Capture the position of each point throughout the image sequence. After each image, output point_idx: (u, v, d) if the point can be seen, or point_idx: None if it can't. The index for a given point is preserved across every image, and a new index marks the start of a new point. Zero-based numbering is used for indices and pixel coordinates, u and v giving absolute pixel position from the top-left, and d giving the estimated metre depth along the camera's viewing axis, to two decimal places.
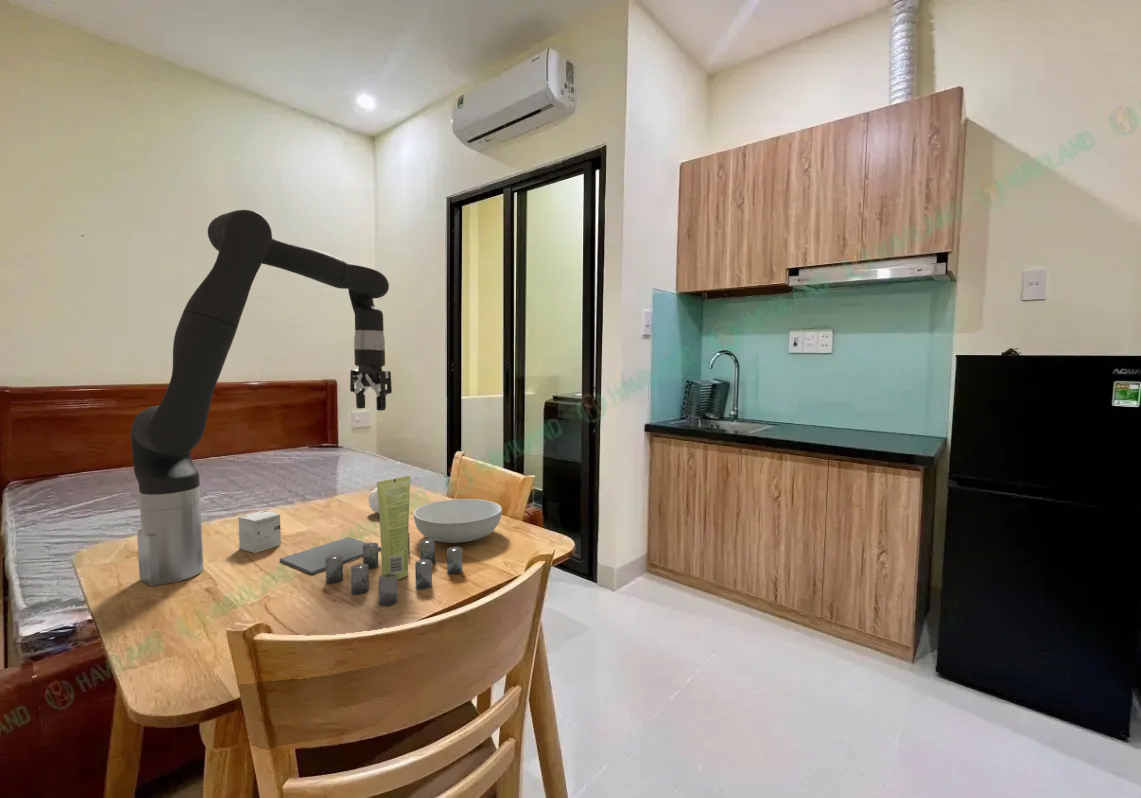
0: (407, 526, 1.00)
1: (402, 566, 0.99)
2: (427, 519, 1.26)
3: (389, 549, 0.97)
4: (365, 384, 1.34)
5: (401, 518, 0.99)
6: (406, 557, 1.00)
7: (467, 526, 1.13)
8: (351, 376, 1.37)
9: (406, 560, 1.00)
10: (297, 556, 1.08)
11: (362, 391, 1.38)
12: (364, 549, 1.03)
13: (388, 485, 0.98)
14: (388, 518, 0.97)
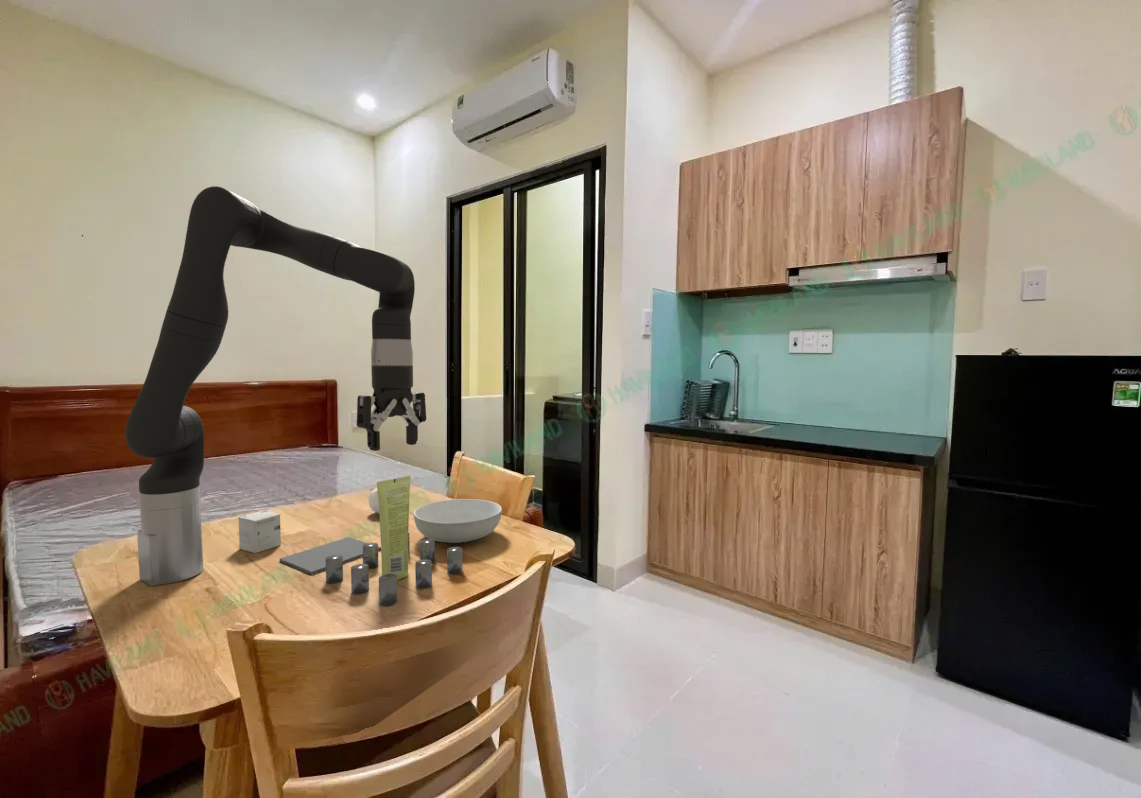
0: (407, 526, 1.00)
1: (402, 566, 0.99)
2: (427, 519, 1.26)
3: (389, 549, 0.97)
4: (394, 413, 0.97)
5: (401, 518, 0.99)
6: (406, 557, 1.00)
7: (467, 526, 1.13)
8: (367, 405, 0.92)
9: (406, 560, 1.00)
10: (297, 556, 1.08)
11: None
12: (364, 549, 1.03)
13: (388, 485, 0.98)
14: (388, 518, 0.97)
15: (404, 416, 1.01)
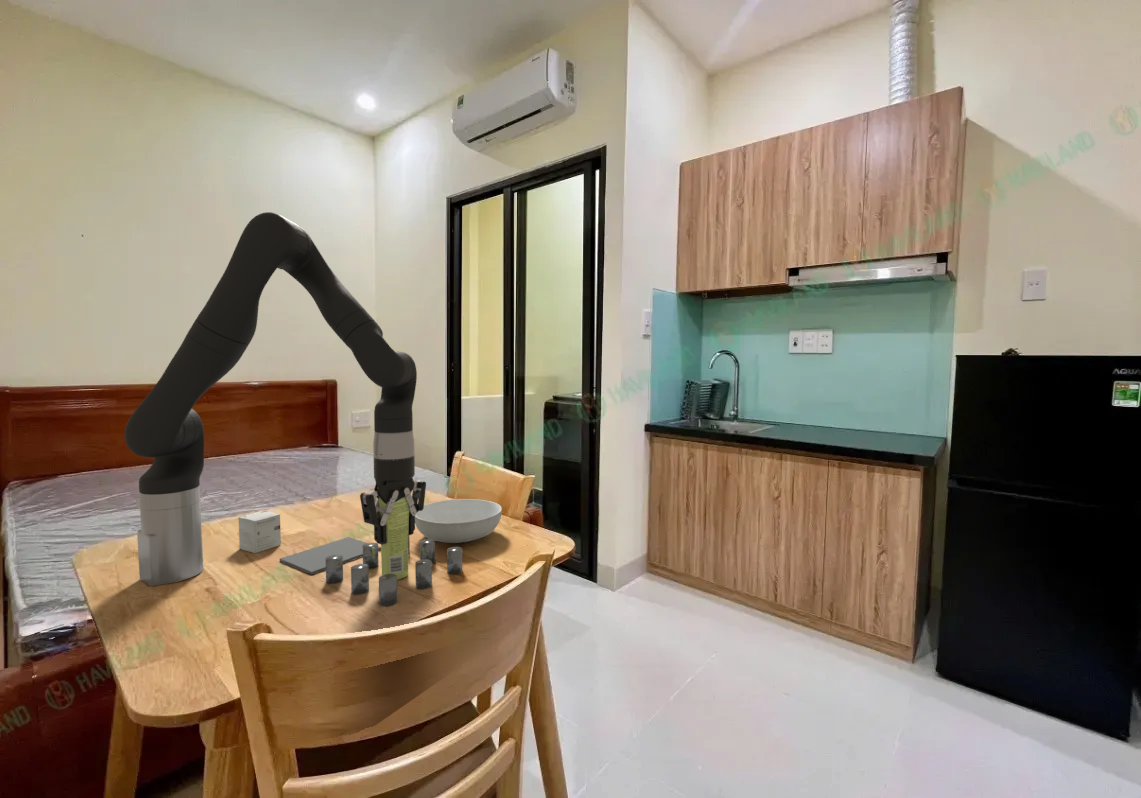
0: (407, 526, 1.00)
1: (402, 566, 0.99)
2: (427, 519, 1.26)
3: (389, 549, 0.97)
4: None
5: (401, 518, 0.99)
6: (406, 557, 1.00)
7: (467, 526, 1.13)
8: (371, 504, 0.93)
9: (406, 560, 1.00)
10: (297, 556, 1.08)
11: None
12: (364, 549, 1.03)
13: None
14: (388, 518, 0.97)
15: None
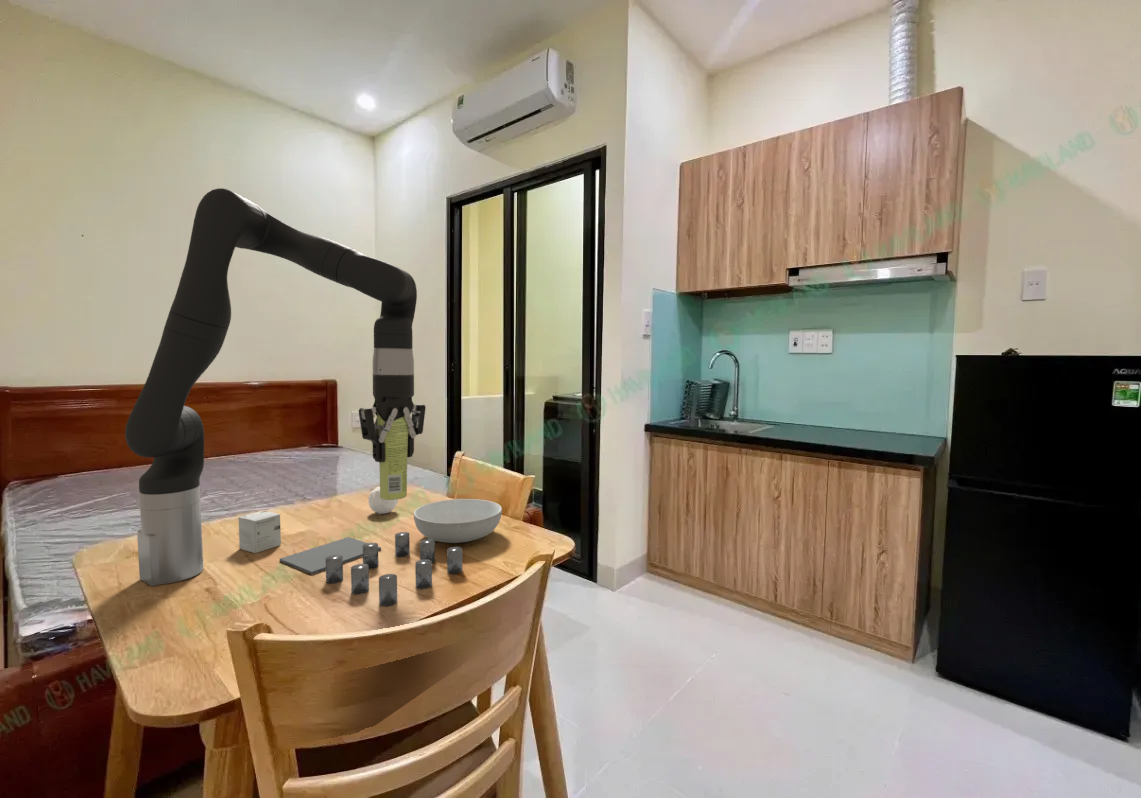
0: (406, 447, 0.99)
1: (400, 486, 0.97)
2: (427, 519, 1.26)
3: (388, 468, 0.96)
4: None
5: (400, 438, 0.98)
6: (405, 478, 0.99)
7: (467, 526, 1.13)
8: (370, 418, 0.92)
9: (405, 481, 0.99)
10: (297, 556, 1.08)
11: None
12: (364, 549, 1.03)
13: None
14: (387, 436, 0.96)
15: None
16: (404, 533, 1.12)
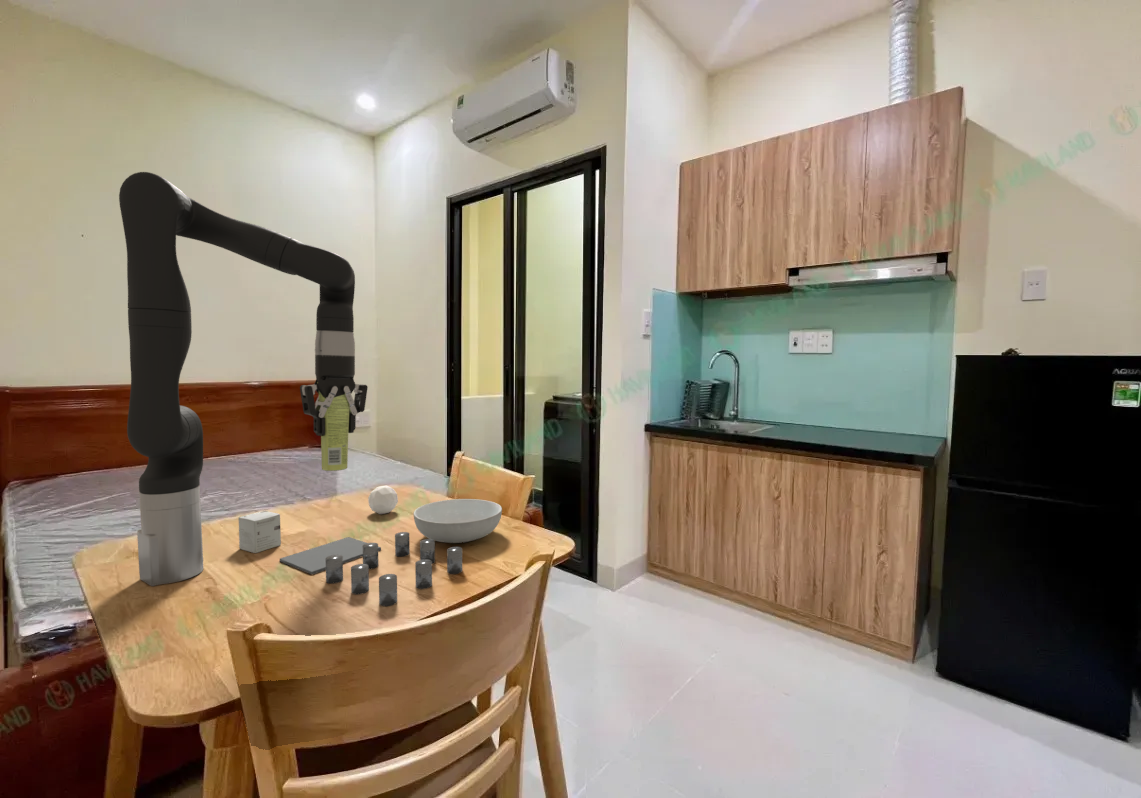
0: (347, 423, 1.07)
1: (340, 459, 1.06)
2: (427, 519, 1.26)
3: (328, 442, 1.04)
4: None
5: (341, 414, 1.06)
6: (345, 451, 1.07)
7: (467, 526, 1.13)
8: (309, 394, 1.00)
9: (345, 454, 1.07)
10: (297, 556, 1.08)
11: None
12: (364, 549, 1.03)
13: None
14: (327, 412, 1.04)
15: None
16: (404, 533, 1.12)
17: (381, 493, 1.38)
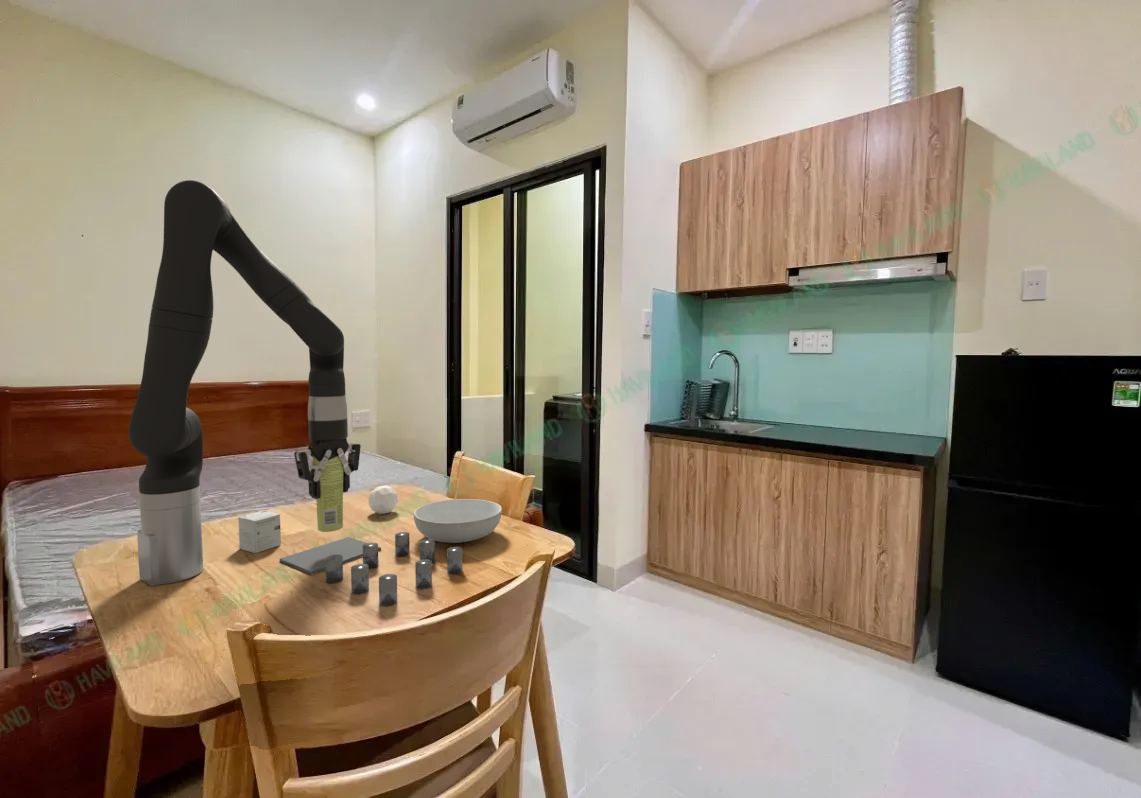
0: (341, 483, 1.10)
1: (335, 519, 1.08)
2: (427, 519, 1.26)
3: (323, 504, 1.07)
4: None
5: (335, 476, 1.08)
6: (340, 511, 1.09)
7: (467, 526, 1.13)
8: (304, 460, 1.03)
9: (340, 514, 1.09)
10: (297, 556, 1.08)
11: None
12: (364, 549, 1.03)
13: None
14: (322, 475, 1.06)
15: None
16: (404, 533, 1.12)
17: (381, 493, 1.38)
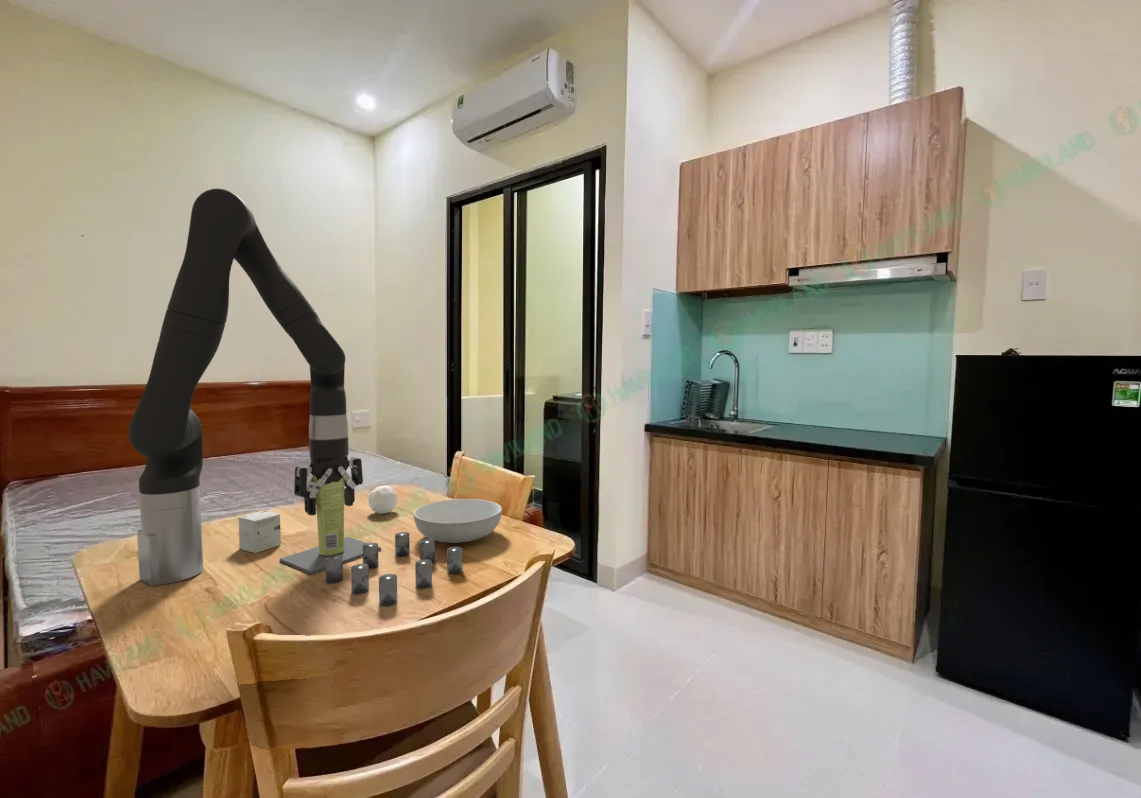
0: (342, 507, 1.10)
1: (337, 543, 1.09)
2: (427, 519, 1.26)
3: (324, 528, 1.08)
4: (330, 480, 1.08)
5: (336, 499, 1.09)
6: (341, 535, 1.10)
7: (467, 526, 1.13)
8: (303, 476, 1.03)
9: (341, 537, 1.10)
10: (297, 556, 1.08)
11: None
12: (364, 549, 1.03)
13: None
14: (323, 499, 1.07)
15: None
16: (404, 533, 1.12)
17: (381, 493, 1.38)
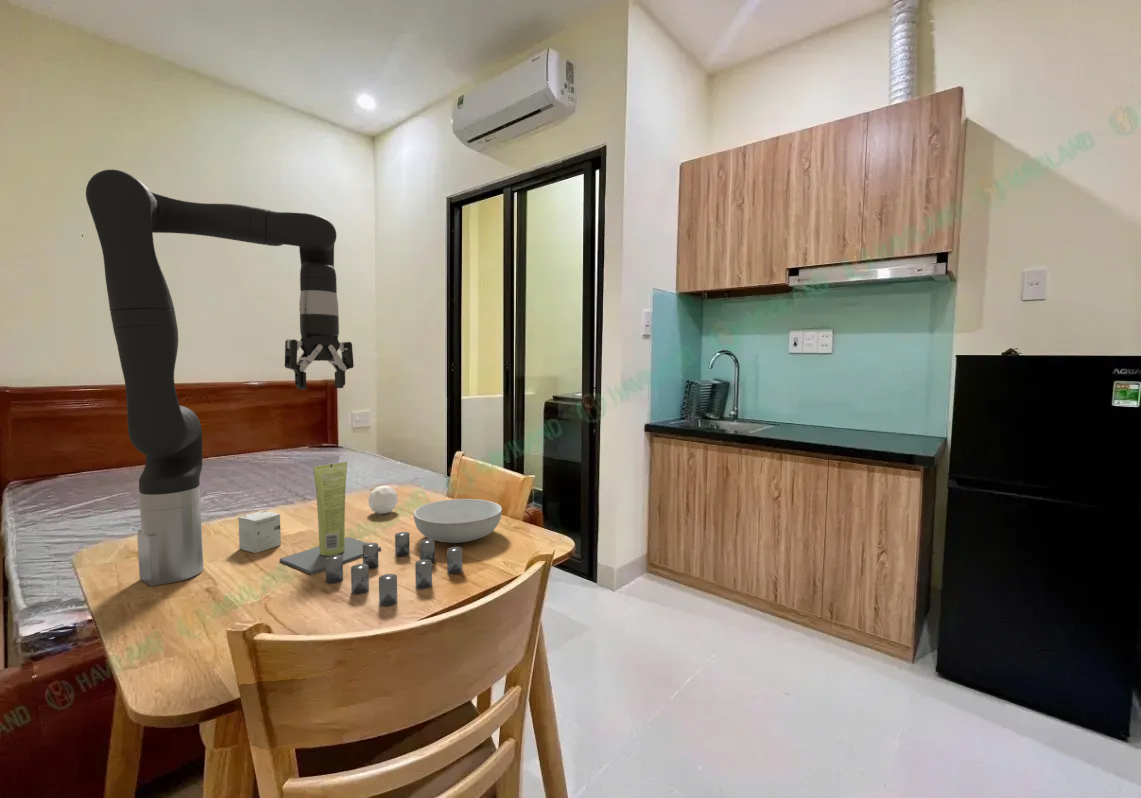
0: (343, 507, 1.10)
1: (337, 543, 1.09)
2: (427, 519, 1.26)
3: (325, 528, 1.08)
4: (320, 358, 1.09)
5: (337, 500, 1.09)
6: (342, 535, 1.10)
7: (467, 526, 1.13)
8: (293, 348, 1.04)
9: (342, 538, 1.10)
10: (297, 556, 1.08)
11: None
12: (364, 549, 1.03)
13: (324, 470, 1.08)
14: (324, 500, 1.07)
15: (332, 362, 1.13)
16: (404, 533, 1.12)
17: (381, 493, 1.38)
